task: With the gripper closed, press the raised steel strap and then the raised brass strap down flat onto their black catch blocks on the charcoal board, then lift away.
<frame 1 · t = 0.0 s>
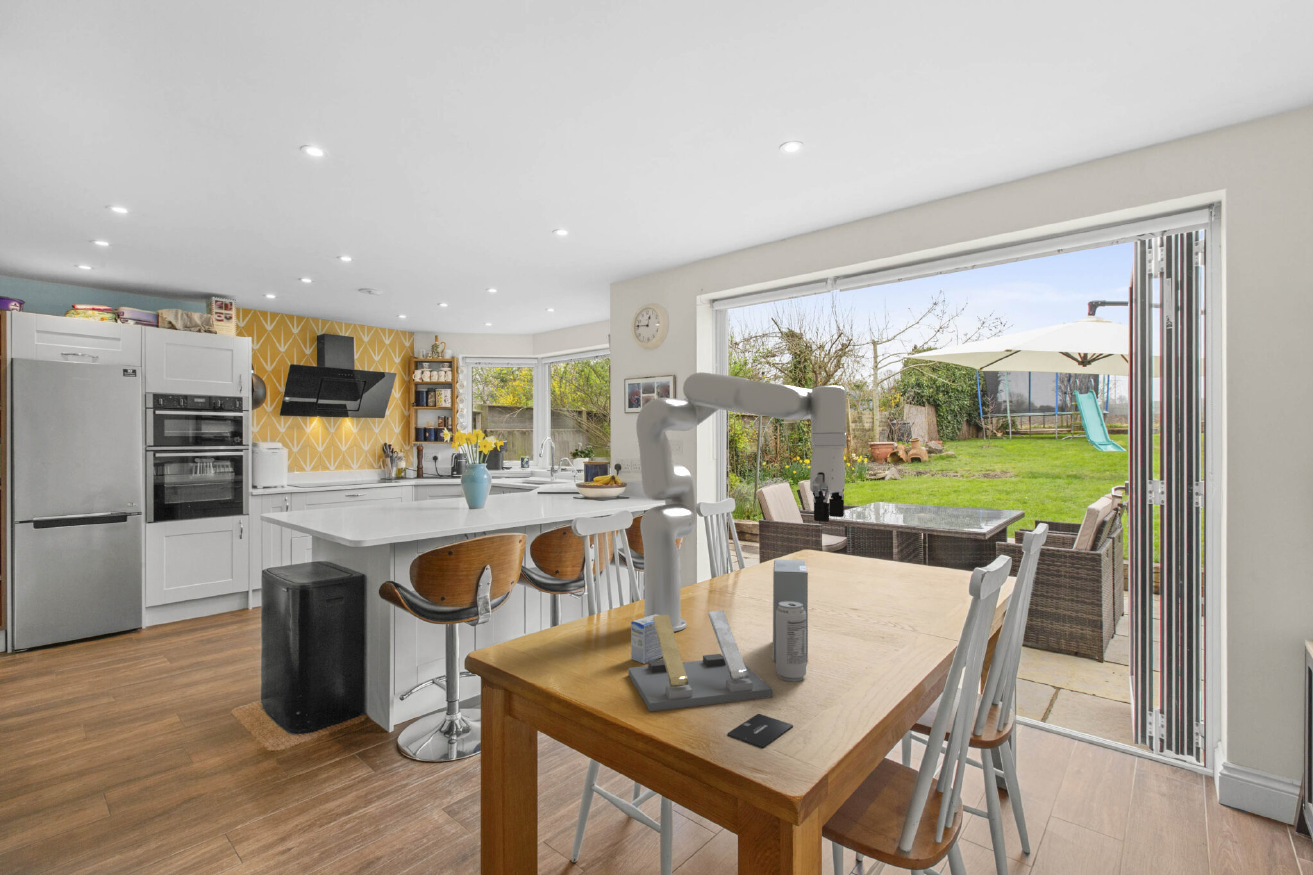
hand: (829, 518, 136), 31 cm above the table, tool pointing down, fingers open, 9 cm apart
hard drive box: (790, 652, 141), on the table
solid state drive: (760, 734, 103), on the table
steel strap: (727, 643, 122), point 8 cm above the table, hinge at 35.0°
brass strap: (669, 649, 119), point 8 cm above the table, hinge at 35.0°
board: (697, 685, 122), on the table
medicine box: (650, 658, 138), on the table
energy drink can: (791, 677, 126), on the table
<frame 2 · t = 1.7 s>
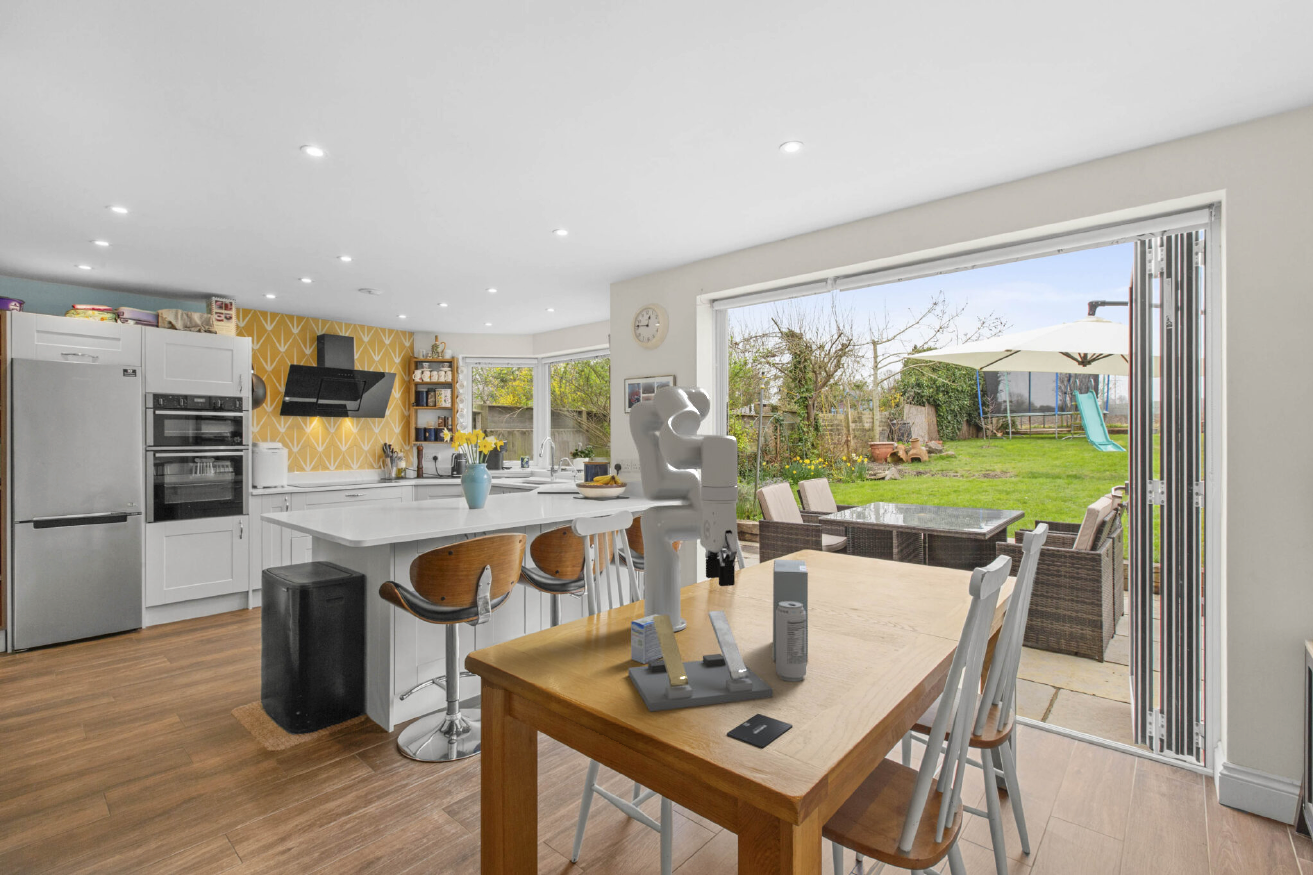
hand: (719, 580, 126), 20 cm above the table, tool pointing down, fingers open, 6 cm apart
nothing on the table moved.
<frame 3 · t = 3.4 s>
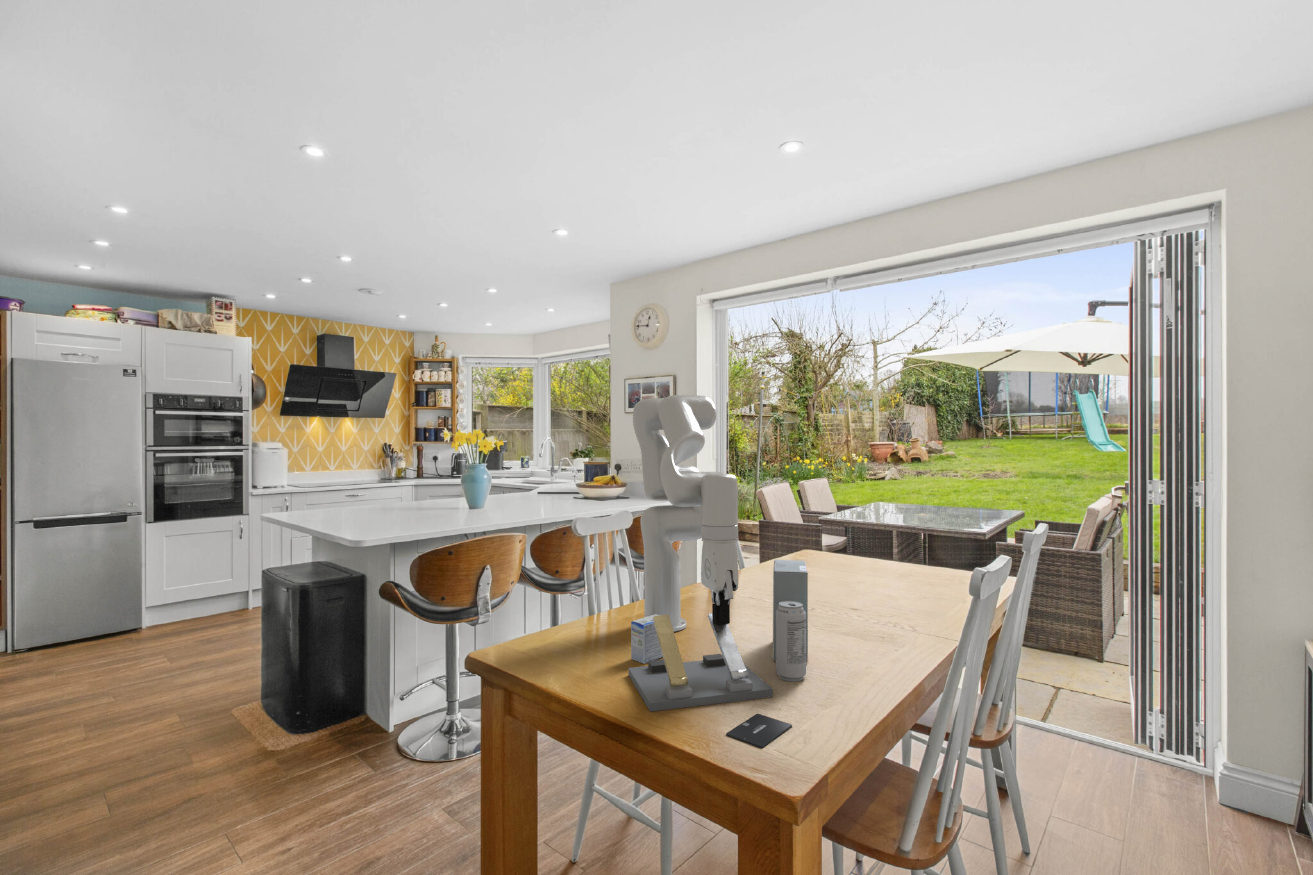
hand: (721, 623, 126), 11 cm above the table, tool pointing down, fingers closed
steel strap: (727, 644, 122), point 8 cm above the table, hinge at 32.7°, touching gripper
everything else where it was.
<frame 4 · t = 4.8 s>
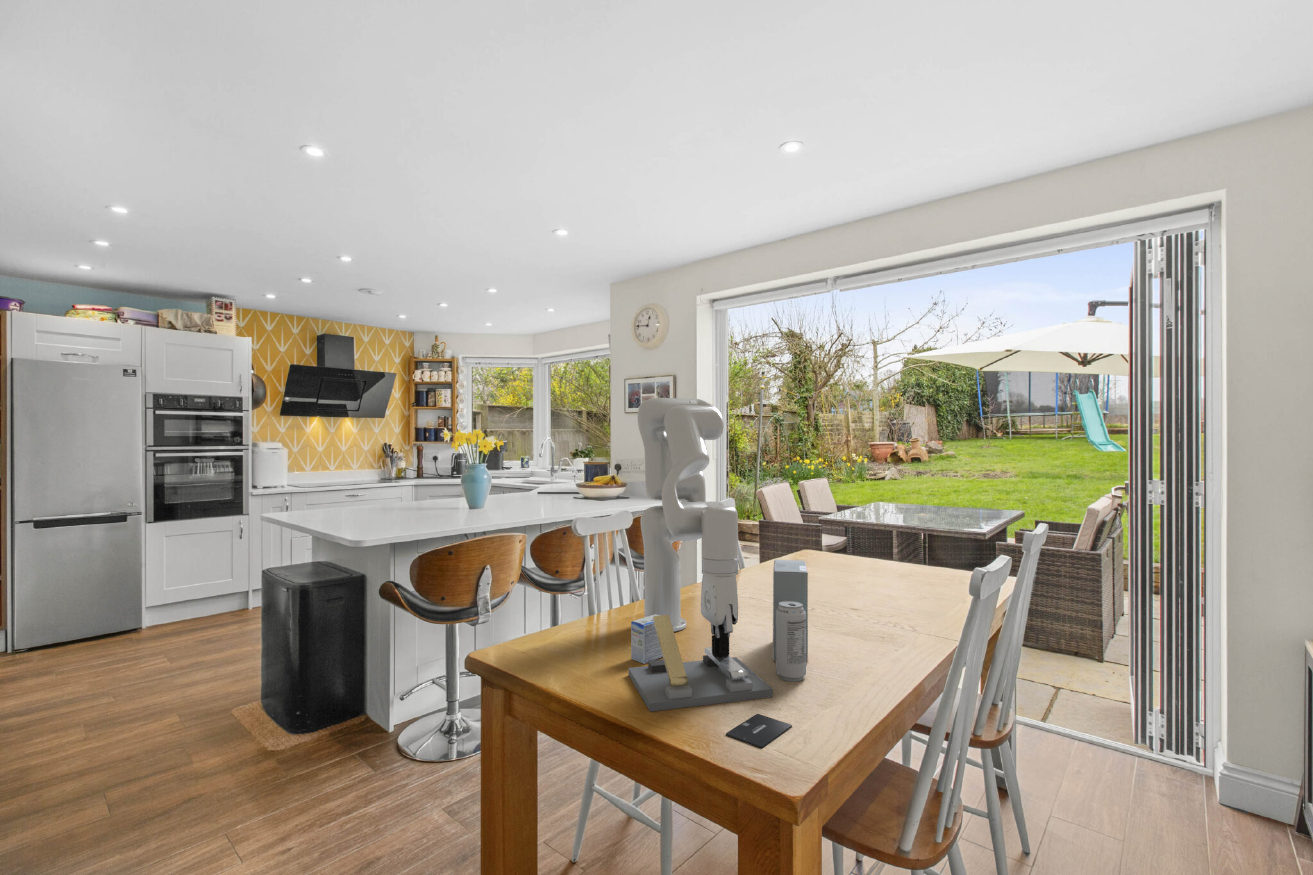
hand: (720, 655, 126), 4 cm above the table, tool pointing down, fingers closed
steel strap: (725, 662, 123), point 4 cm above the table, hinge at -0.1°, touching gripper
everything else where it was.
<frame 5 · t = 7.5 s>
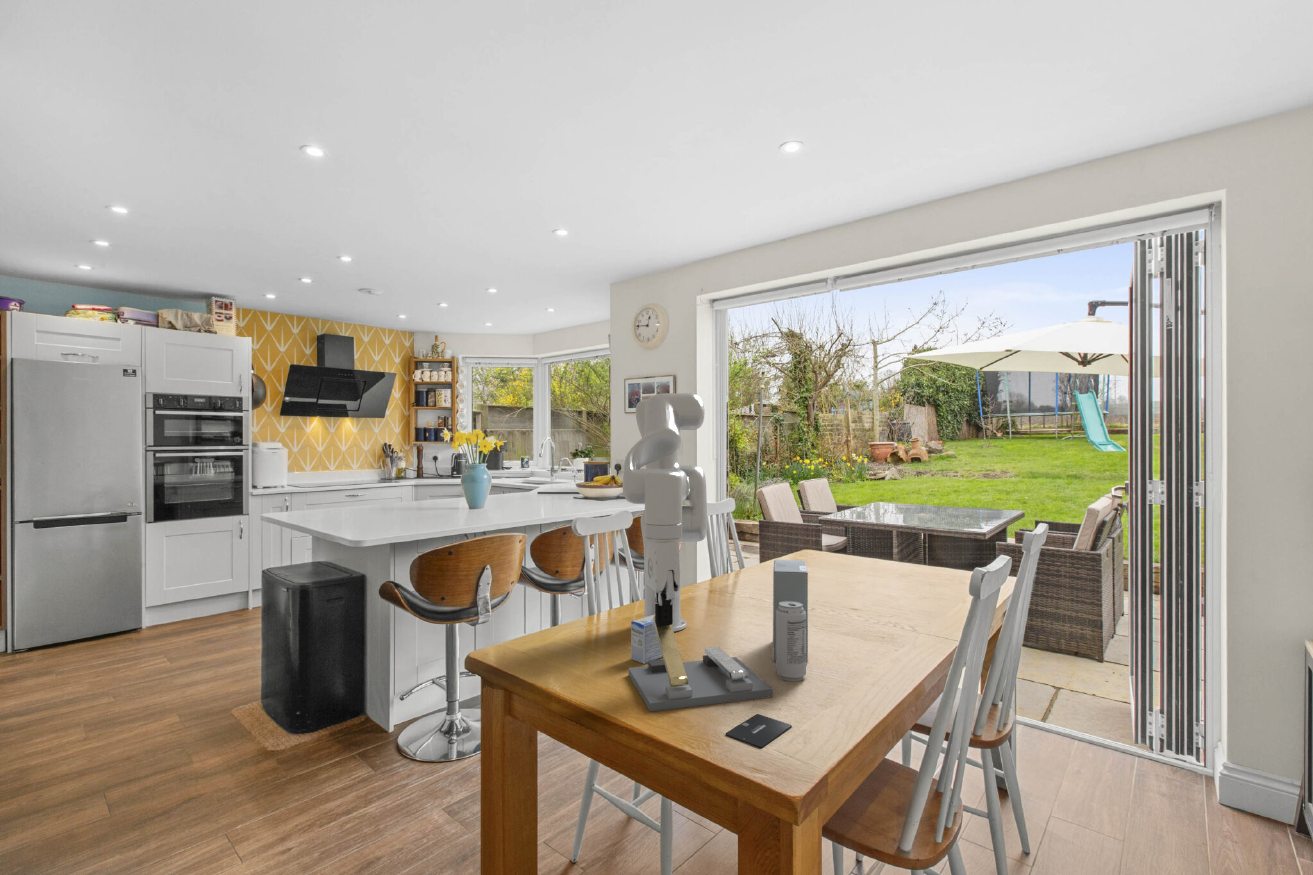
hand: (663, 623, 123), 12 cm above the table, tool pointing down, fingers closed
steel strap: (725, 662, 123), point 4 cm above the table, hinge at -0.1°
brass strap: (669, 649, 119), point 8 cm above the table, hinge at 34.8°, touching gripper
everything else where it was.
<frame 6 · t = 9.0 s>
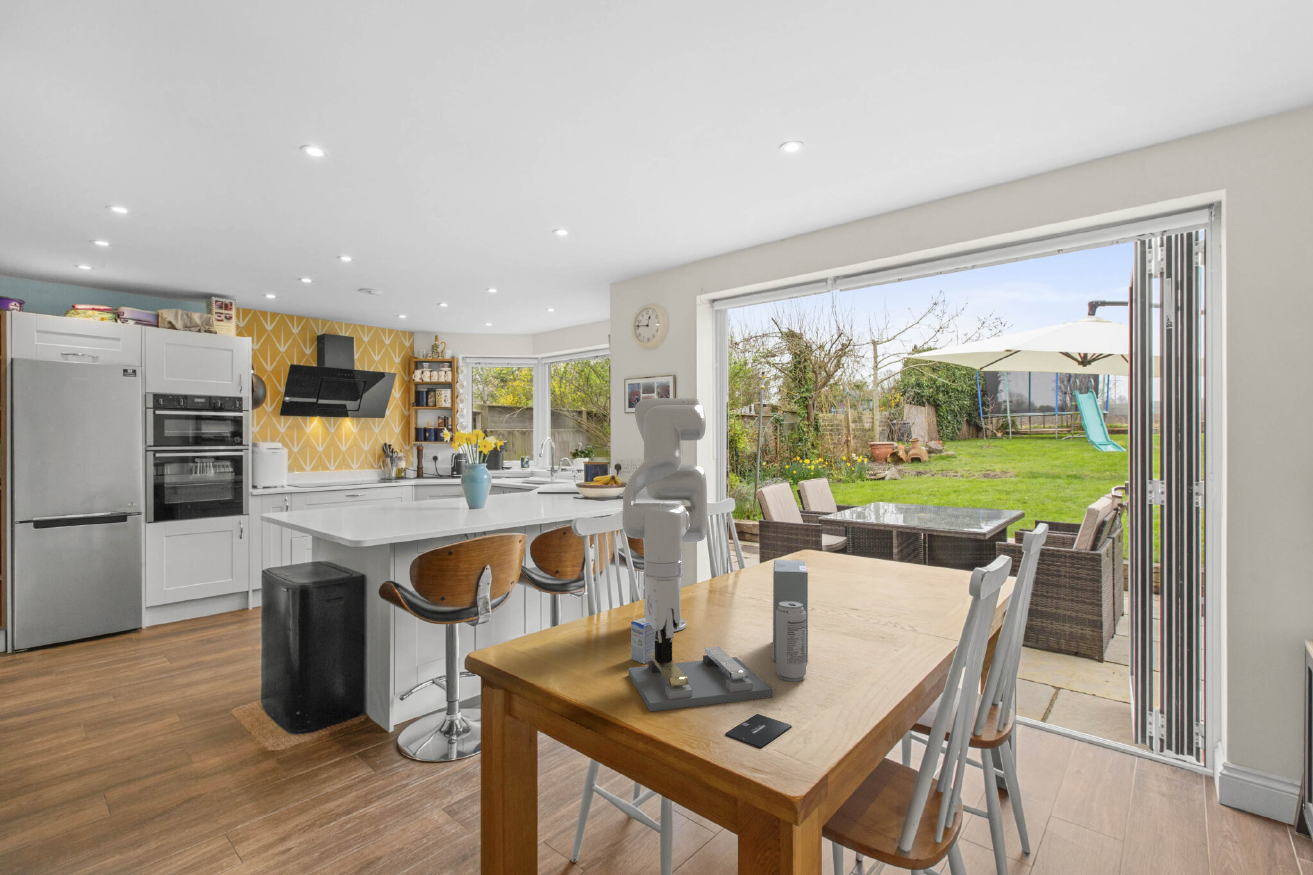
hand: (663, 660, 123), 5 cm above the table, tool pointing down, fingers closed
brass strap: (668, 667, 120), point 4 cm above the table, hinge at 0.3°, touching gripper
everything else where it was.
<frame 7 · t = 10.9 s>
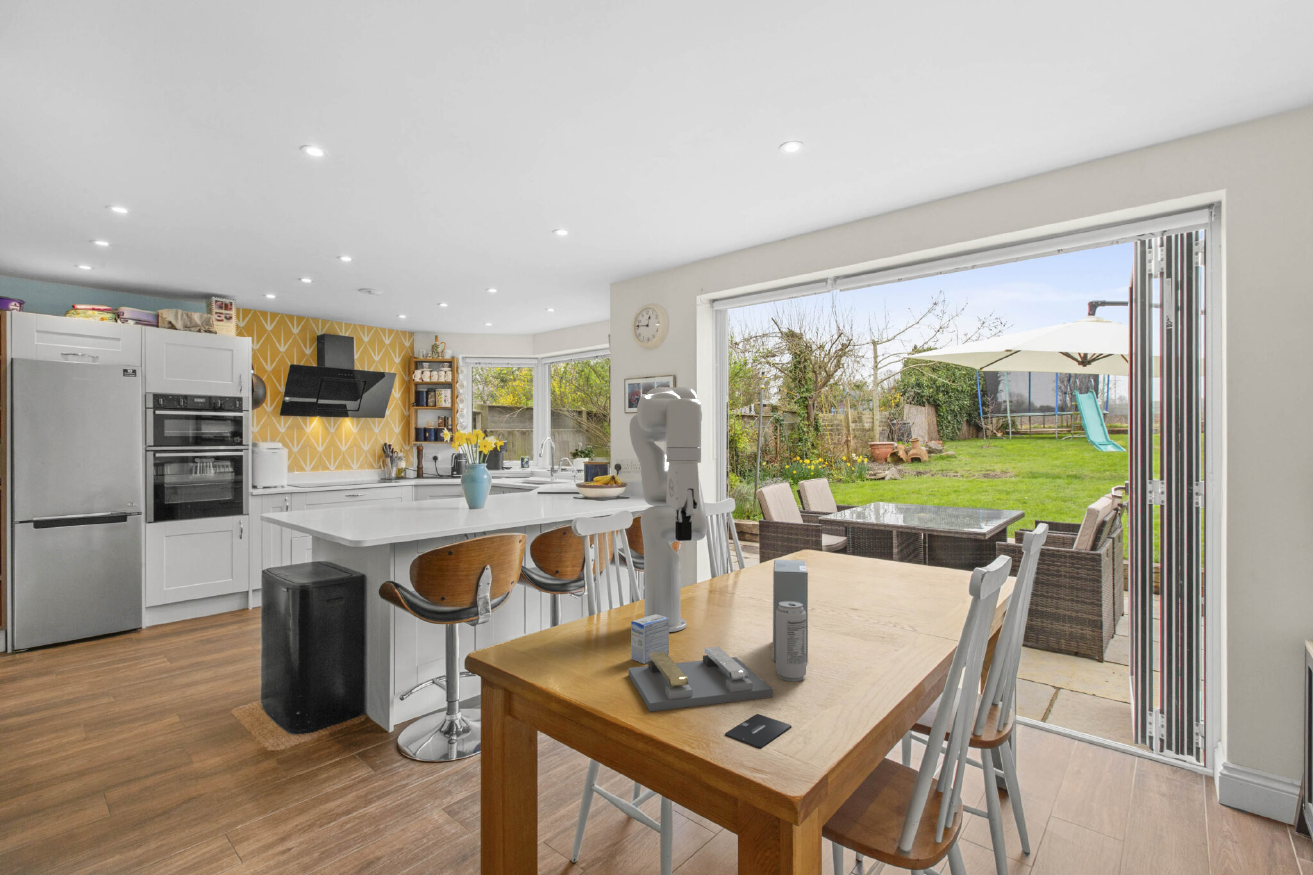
hand: (683, 539, 133), 27 cm above the table, tool pointing down, fingers closed
brass strap: (668, 667, 120), point 4 cm above the table, hinge at 0.2°
everything else where it was.
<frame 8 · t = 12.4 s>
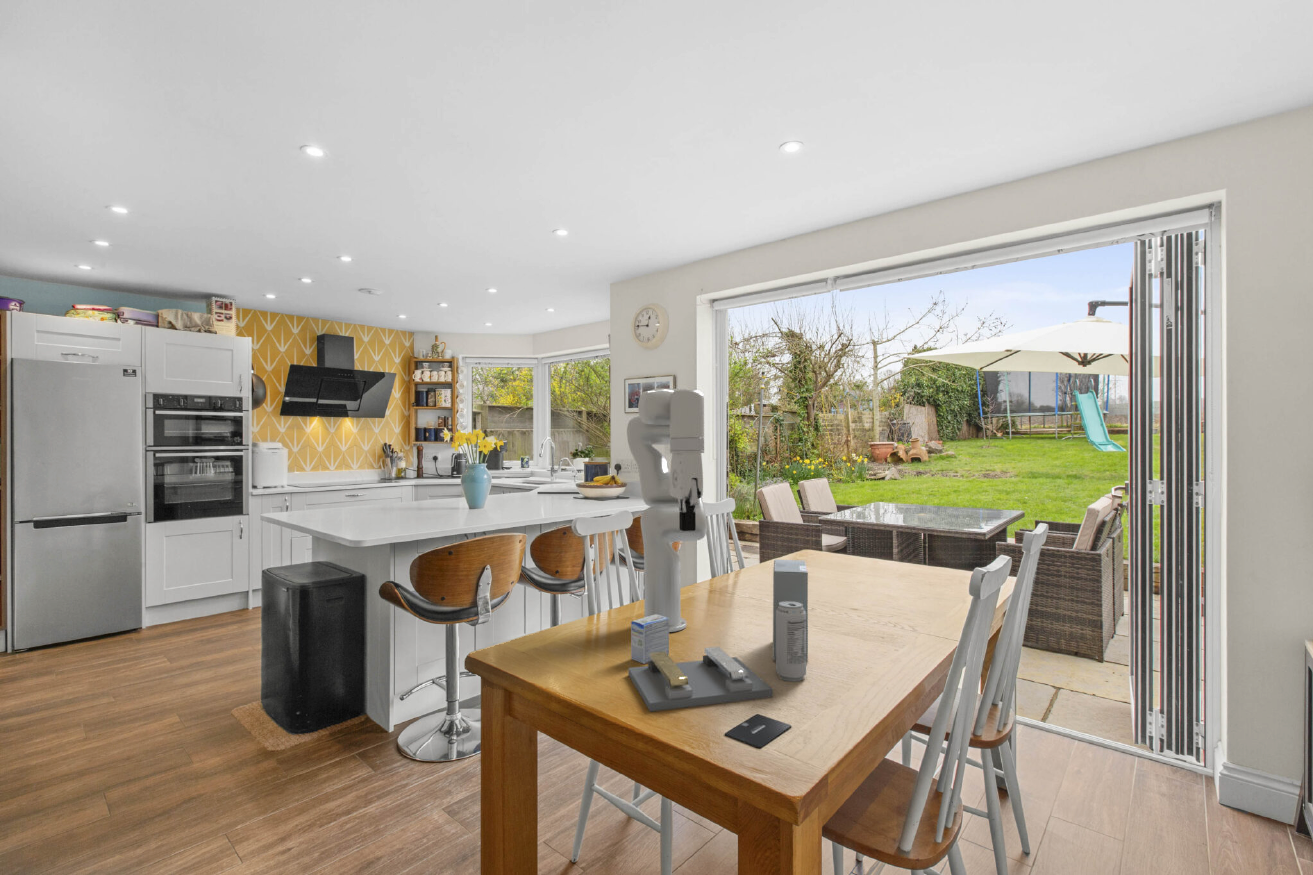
hand: (687, 530, 134), 29 cm above the table, tool pointing down, fingers closed
nothing on the table moved.
at the end: steel strap at +0° (first picture: +35°); brass strap at +0° (first picture: +35°) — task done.
